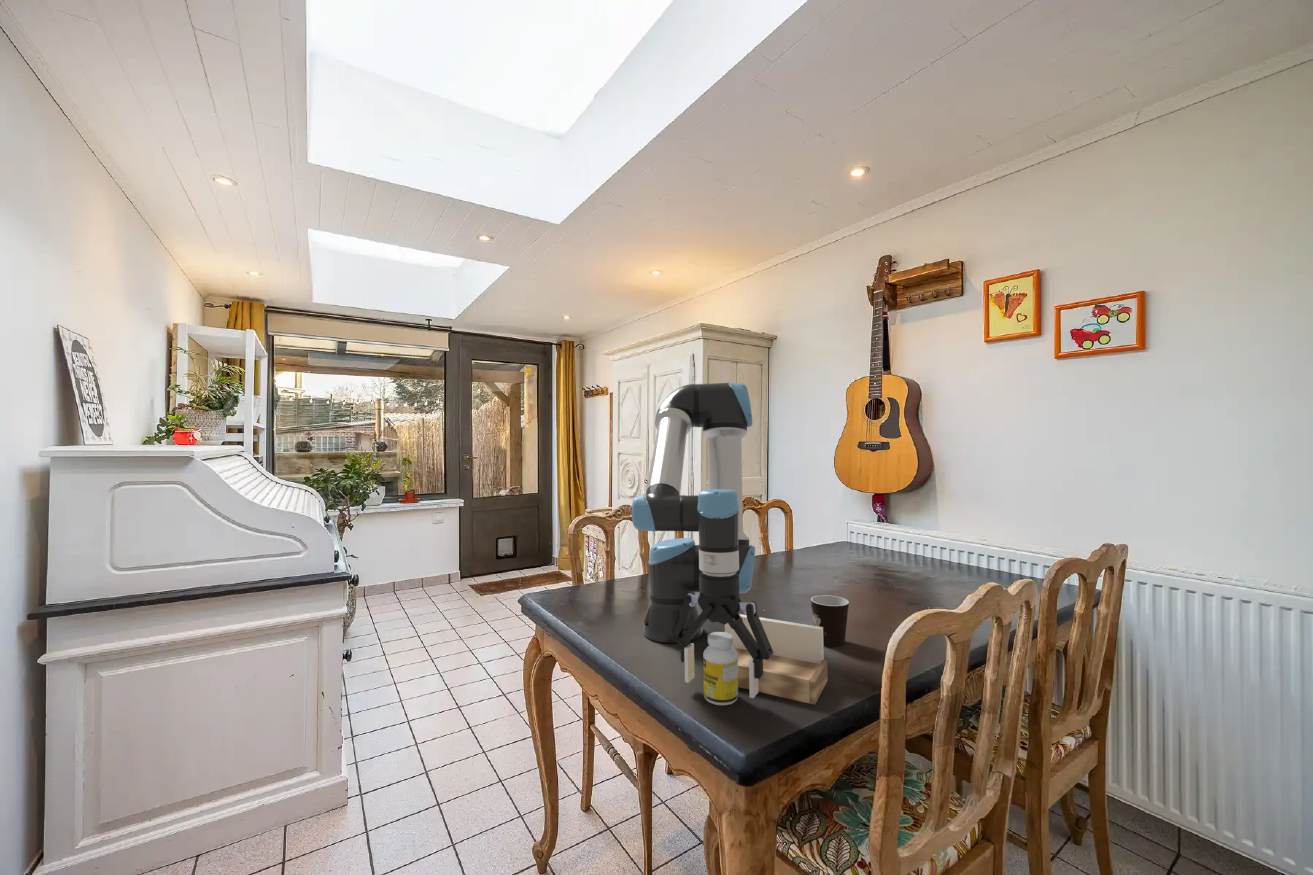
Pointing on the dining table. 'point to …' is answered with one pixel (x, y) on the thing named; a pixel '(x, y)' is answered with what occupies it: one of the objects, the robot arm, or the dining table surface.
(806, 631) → the wall board
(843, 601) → the coffee mug
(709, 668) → the pill bottle
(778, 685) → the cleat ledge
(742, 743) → the dining table surface
